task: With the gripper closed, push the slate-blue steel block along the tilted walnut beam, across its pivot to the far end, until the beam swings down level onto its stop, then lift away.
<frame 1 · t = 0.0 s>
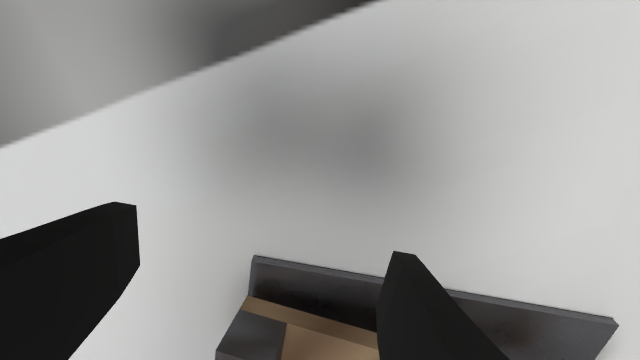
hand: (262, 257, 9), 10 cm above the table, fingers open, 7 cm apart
stand: (413, 340, 24), on the table
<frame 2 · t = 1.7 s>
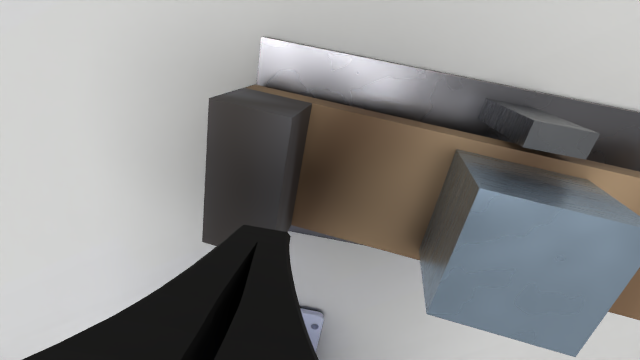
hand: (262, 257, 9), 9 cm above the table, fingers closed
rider: (495, 218, 14), point 4 cm above the table, tilted 8°, touching beam
stand: (472, 179, 18), on the table
beam: (512, 231, 13), point 5 cm above the table, hinge at 8.2°, touching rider
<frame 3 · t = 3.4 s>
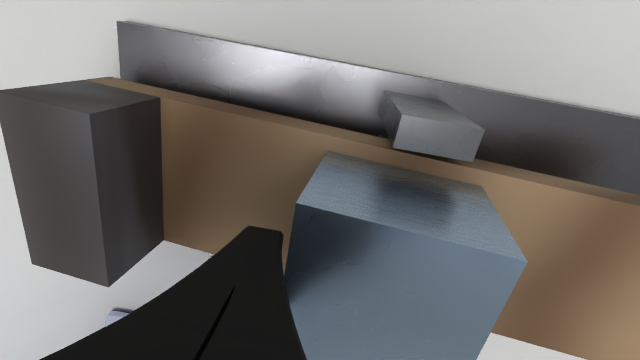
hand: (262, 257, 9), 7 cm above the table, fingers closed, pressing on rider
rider: (383, 232, 12), point 4 cm above the table, tilted 8°, touching beam, gripper
stand: (385, 184, 16), on the table
beam: (395, 249, 11), point 5 cm above the table, hinge at 8.2°, touching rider
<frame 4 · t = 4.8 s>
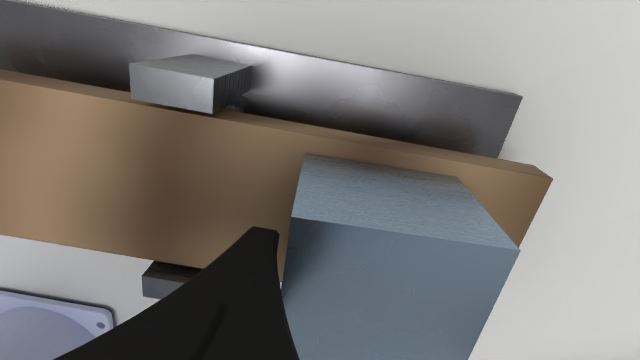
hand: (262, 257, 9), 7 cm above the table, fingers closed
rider: (365, 230, 12), point 4 cm above the table, touching gripper
stand: (222, 154, 16), on the table
beam: (169, 208, 11), point 5 cm above the table, hinge at -0.7°
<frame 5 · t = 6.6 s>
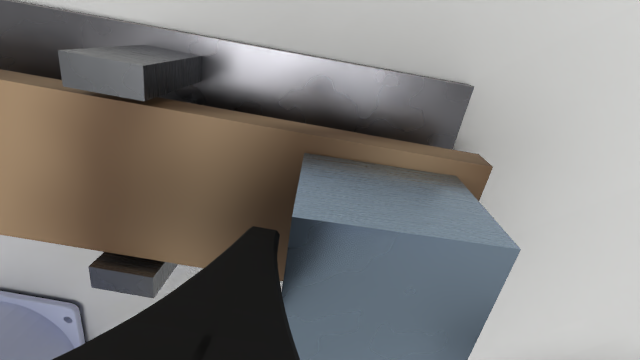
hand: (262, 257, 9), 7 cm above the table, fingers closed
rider: (365, 229, 12), point 4 cm above the table, touching beam, gripper
stand: (180, 146, 16), on the table
beam: (108, 198, 11), point 5 cm above the table, hinge at -0.9°, touching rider
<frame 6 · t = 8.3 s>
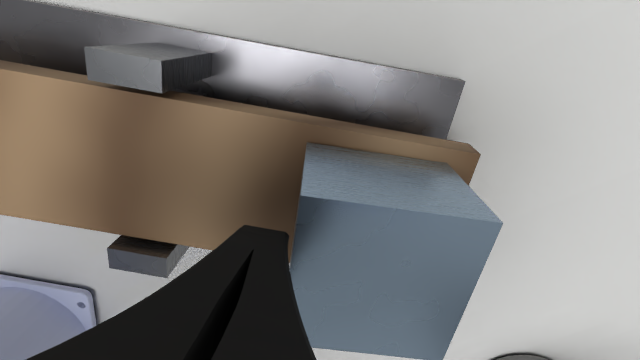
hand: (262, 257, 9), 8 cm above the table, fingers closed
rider: (363, 214, 13), point 4 cm above the table, touching beam, gripper
stand: (189, 138, 17), on the table
beam: (127, 182, 12), point 5 cm above the table, hinge at -0.7°, touching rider
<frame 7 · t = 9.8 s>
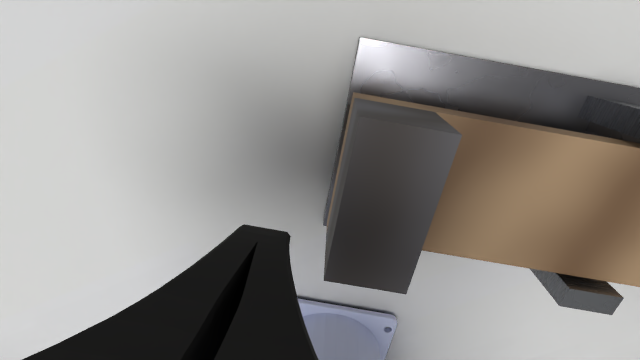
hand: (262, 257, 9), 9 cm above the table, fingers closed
stand: (562, 178, 18), on the table
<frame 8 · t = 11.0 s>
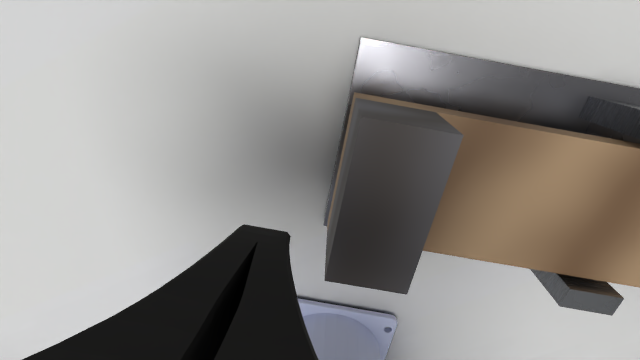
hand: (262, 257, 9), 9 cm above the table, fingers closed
stand: (563, 179, 18), on the table
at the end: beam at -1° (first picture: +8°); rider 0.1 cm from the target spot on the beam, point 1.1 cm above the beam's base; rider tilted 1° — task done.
